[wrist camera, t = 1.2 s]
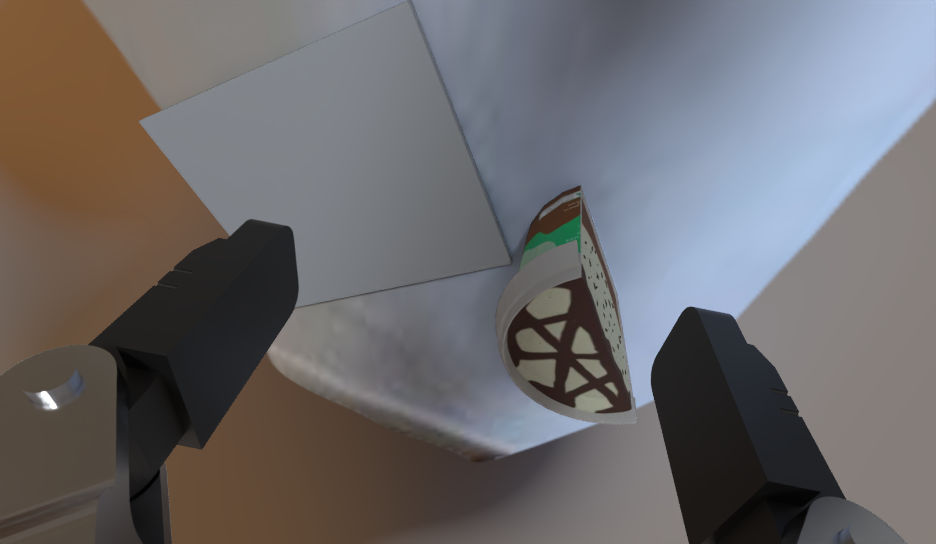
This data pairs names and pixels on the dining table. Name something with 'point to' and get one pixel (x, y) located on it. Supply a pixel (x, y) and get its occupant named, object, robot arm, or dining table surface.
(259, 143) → the felt mat
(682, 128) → the dining table surface
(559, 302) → the food container
